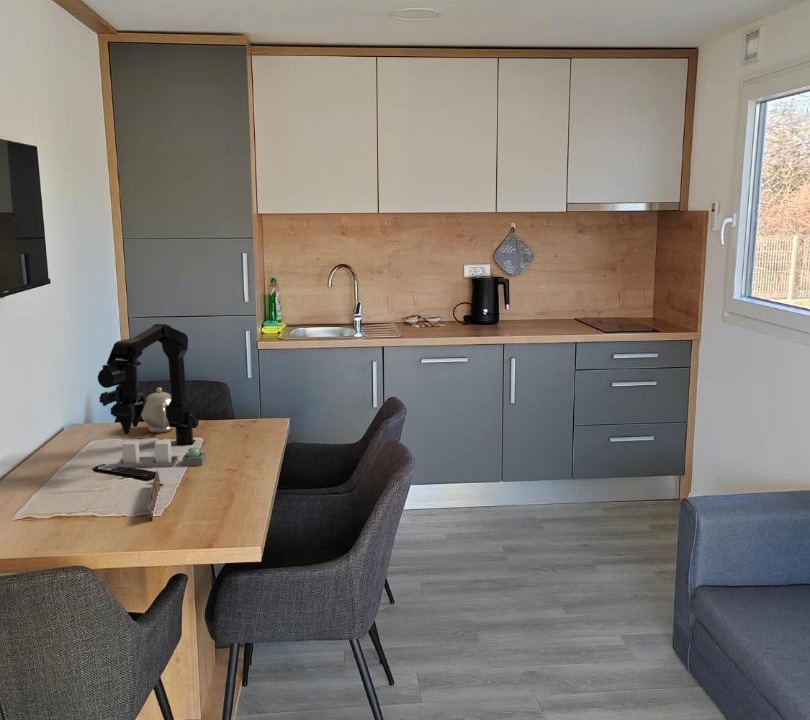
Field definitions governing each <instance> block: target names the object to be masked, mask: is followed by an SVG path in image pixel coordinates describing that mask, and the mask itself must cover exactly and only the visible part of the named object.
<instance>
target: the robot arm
mask: <svg viewBox="0 0 810 720" xmlns="http://www.w3.org/2000/svg"><path fill="white" fill-rule="evenodd" d="M156 342H159V343H160V344H161V347H162V352H163V353H164V354H165V356H166V357H167V359H168V374H169V385H170V386H169V387H170V395H171V401H170V403H169V405H167V406H166V417H167V420H168V422H169V426H170V427H174V428H175V443H173V446H193V445H194V443H195V442H196V441H197V440H196V439H194V432H193V431H194V430H193V429H196V428H197V427H198V426H199V423H200V420H199V418H197V416H196V415H195V414H194V412H193V407H192V405H191V403H190V401H189V400H188V398H187V391H186V389H187V388H186V377H185V376H186V374H185V361H184V357H185V355H186V353H187V352H188V350H189V348H188V347H189V337H188V335H187V334H186V333H185V332H184V331H183V332H182V331H181V330H178V329H176V328H173V327H172V326H170V325H168V324H166V323H155V324H153V325H152V326H151V327H149V328H148V329H146V330H144V331H142V332H140V333H139V334H136V336H134V337H132V338H131V337H130V338H126V339H120V340H118V341H116V342H115V343H114V344H113V347H112V348H111V351H110V354H109V357H108V359H107V362H106V364H103V365H102V369H101V370H100V371H99V372H98V375H97V382H98V384H99V385H100V386H101V387H102V388H107V389H108V388H112V387H115V389H114V390H111V391H104V392H102V393H100V395H99V398H98V399H99V403H101V404H102V406H103V407H105V406H108V405H110V404H112V403H115V404H114V405H112V406H111V407H110V415H112V416H113V417H115V418H116V419H118V421H119V422H120V425H121V427H122V431H123V433H124V435H129V434H130V431H131V428H132V426H133V428H137V427H138V425H139V422H140V421H141V420H140V419H141V417H142V415H141V414H142V412H143V409H144V407H145V405H146V402H147V397H148V395H147V394H145V393H144V392H139V388H140V386H141V384H140V382H139V380H138V379H139V378H138V366H141V365H142V362H140V361H139V360H138V359H139V358H140V357H141V356H142V355H143V351H144V350H145V349H146V348H148V347H150V346H152V345H153V344H155V343H156Z"/></svg>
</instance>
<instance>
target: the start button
mask: <svg viewBox="0 0 810 720" xmlns="http://www.w3.org/2000/svg"><path fill="white" fill-rule="evenodd" d="M187 453H188V457H200V455H199V453H200V447H199V448H198V447H190V448H188V449H187Z"/></svg>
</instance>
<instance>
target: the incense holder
mask: <svg viewBox="0 0 810 720" xmlns="http://www.w3.org/2000/svg"><path fill="white" fill-rule="evenodd" d="M160 479H161V478H160V475H159V470H158V469H156V473H155V475H154V479H153V482H152V486H151V490H150V494H149V498H148V501H147V518H148V522H154V519H155V516H153V511H154V507H155V503H156V500H157V496H158V492H159V491H160V489H161V487H162V488H163V486H162V485H164V484H163V483H161V480H160Z"/></svg>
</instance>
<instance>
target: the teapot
mask: <svg viewBox="0 0 810 720" xmlns="http://www.w3.org/2000/svg"><path fill="white" fill-rule="evenodd" d="M155 391H156V392H152V393H151V394H149V395H147V402H146V405H145V407H144V409H143V412H142V414H141V417H142V419H143V422H144V423H145V424H146V425H148V431H149V432H150V433H152V434H153V433H154V434H163V433H165V434H166V433H170V432H172V431H173V430H174V428H175V427H170V426H169V422H168V420H167V417H166V406H167V405H169V403H170V401H171V393H168V392H166V391H163V389H162V387H157V388H156V390H155Z"/></svg>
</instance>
